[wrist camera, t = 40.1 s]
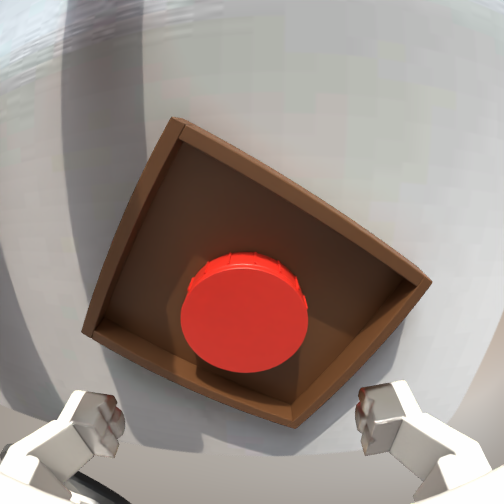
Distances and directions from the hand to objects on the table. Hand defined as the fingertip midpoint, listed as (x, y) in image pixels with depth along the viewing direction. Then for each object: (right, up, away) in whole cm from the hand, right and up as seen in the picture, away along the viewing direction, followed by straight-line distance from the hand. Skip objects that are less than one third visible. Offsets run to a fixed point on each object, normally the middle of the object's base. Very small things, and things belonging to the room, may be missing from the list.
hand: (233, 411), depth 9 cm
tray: (0, +3, +7) cm, 8 cm away
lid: (0, +2, +6) cm, 6 cm away
